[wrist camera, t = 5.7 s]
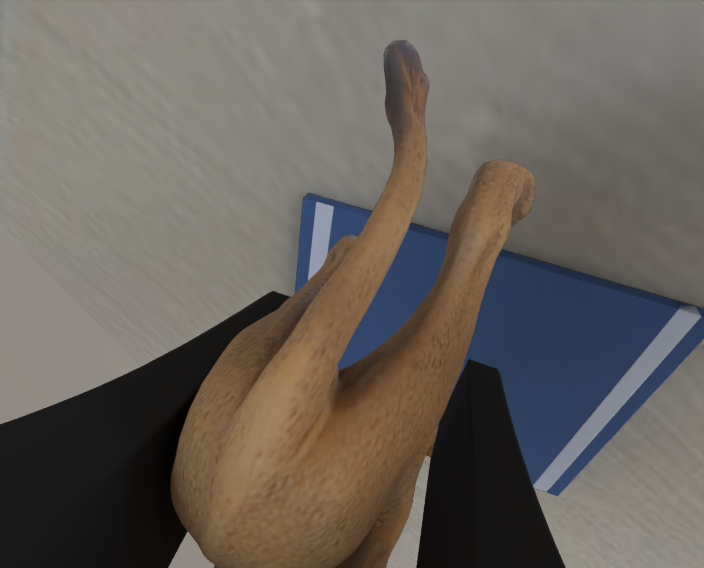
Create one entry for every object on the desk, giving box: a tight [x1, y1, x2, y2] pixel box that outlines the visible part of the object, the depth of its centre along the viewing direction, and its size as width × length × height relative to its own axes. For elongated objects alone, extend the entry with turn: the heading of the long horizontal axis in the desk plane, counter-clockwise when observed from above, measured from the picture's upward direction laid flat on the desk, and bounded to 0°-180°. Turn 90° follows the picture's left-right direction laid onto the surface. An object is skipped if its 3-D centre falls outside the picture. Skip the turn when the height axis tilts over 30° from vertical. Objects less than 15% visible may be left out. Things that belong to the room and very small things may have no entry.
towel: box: [295, 193, 704, 496], centre depth 20 cm, size 16×13×1 cm
